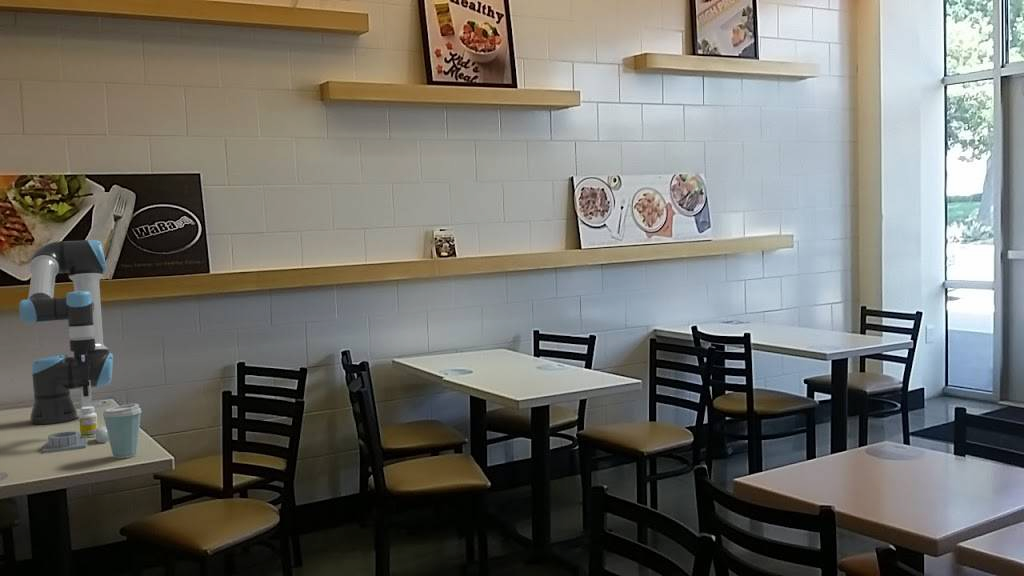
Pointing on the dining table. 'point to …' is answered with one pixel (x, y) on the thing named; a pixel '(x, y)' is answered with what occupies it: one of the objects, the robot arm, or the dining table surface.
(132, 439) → the disposable coffee cup
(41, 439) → the dining table surface
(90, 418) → the supplement bottle
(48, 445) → the coupling socket
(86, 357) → the robot arm
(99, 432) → the pipe stub
